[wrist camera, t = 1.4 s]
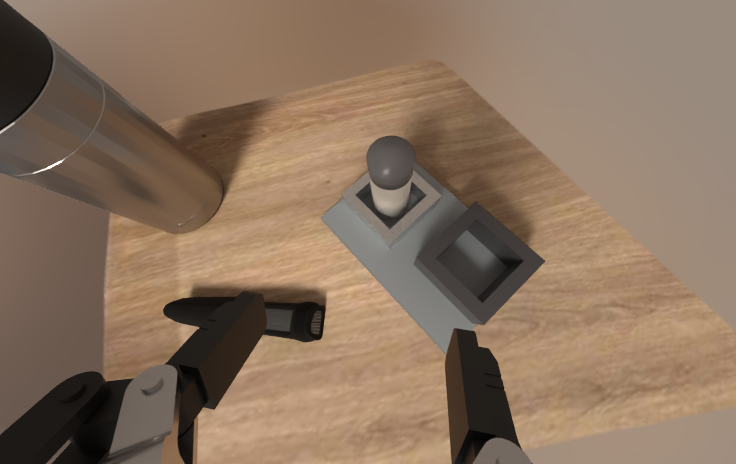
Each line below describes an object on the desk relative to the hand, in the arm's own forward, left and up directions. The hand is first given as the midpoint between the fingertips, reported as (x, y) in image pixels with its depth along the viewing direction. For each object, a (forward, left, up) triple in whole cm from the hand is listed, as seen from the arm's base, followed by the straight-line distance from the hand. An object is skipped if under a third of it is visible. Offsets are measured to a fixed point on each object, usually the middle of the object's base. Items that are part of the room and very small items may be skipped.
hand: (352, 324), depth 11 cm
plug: (-7, +9, -16) cm, 20 cm away
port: (+3, +10, -16) cm, 19 cm away
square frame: (-7, +9, -16) cm, 20 cm away
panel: (-2, +9, -17) cm, 19 cm away
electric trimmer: (-8, -9, -17) cm, 21 cm away
